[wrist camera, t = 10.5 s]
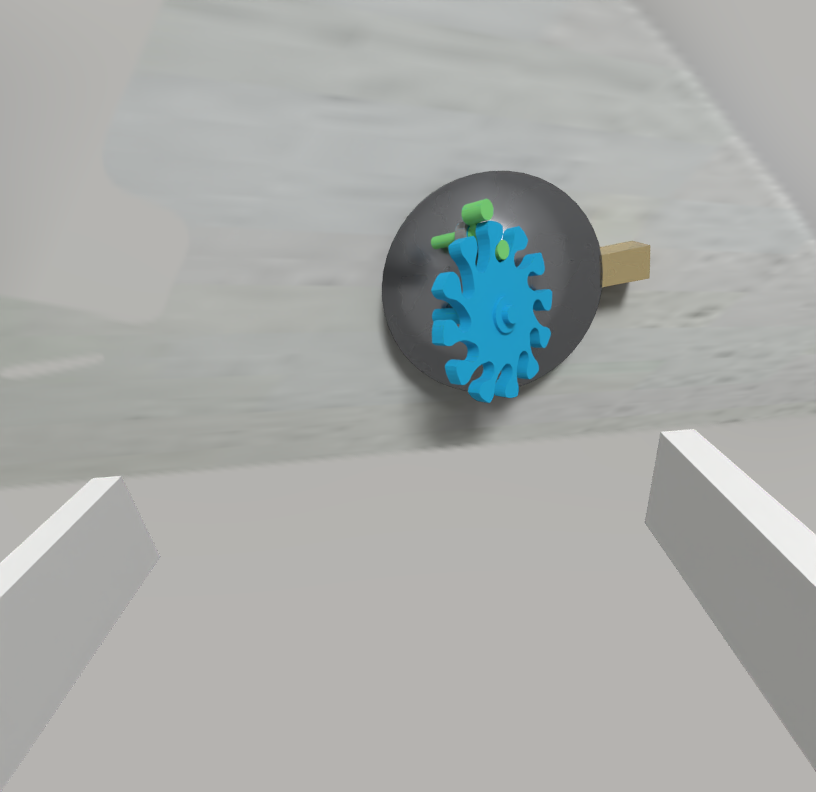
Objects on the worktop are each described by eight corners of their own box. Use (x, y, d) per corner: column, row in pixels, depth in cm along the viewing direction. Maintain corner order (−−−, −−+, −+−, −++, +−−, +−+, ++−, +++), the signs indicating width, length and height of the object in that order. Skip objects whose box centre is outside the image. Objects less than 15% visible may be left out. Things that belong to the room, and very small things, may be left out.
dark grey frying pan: (407, 392, 34) (406, 406, 32) (363, 199, 28) (358, 200, 26) (631, 353, 32) (646, 365, 30) (633, 137, 26) (653, 132, 24)
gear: (566, 375, 28) (465, 431, 22) (493, 369, 33) (392, 414, 27) (554, 192, 25) (433, 199, 19) (475, 212, 30) (356, 224, 24)
